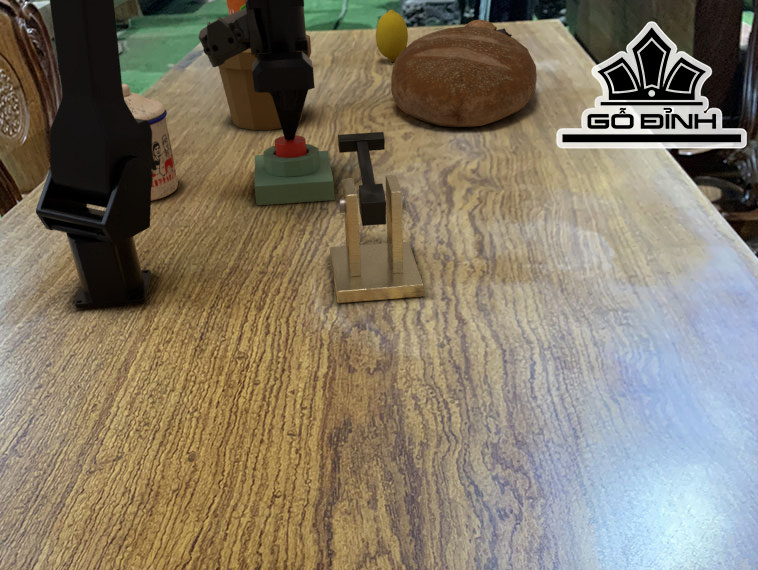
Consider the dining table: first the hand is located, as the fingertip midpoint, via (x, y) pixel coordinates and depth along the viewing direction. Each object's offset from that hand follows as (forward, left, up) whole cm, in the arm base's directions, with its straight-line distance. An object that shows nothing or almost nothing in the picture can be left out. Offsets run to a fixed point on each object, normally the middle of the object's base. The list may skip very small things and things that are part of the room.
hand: (289, 139), depth 96 cm
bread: (+35, -27, -6) cm, 44 cm away
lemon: (+59, -19, -6) cm, 62 cm away
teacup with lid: (+4, +18, -6) cm, 19 cm away
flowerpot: (+29, +3, -6) cm, 29 cm away
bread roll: (+70, -37, -6) cm, 79 cm away
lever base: (-26, -7, -5) cm, 28 cm away
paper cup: (+60, +5, -6) cm, 60 cm away
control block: (0, 0, -5) cm, 5 cm away
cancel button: (0, 0, -2) cm, 2 cm away
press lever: (-22, -7, +2) cm, 23 cm away
